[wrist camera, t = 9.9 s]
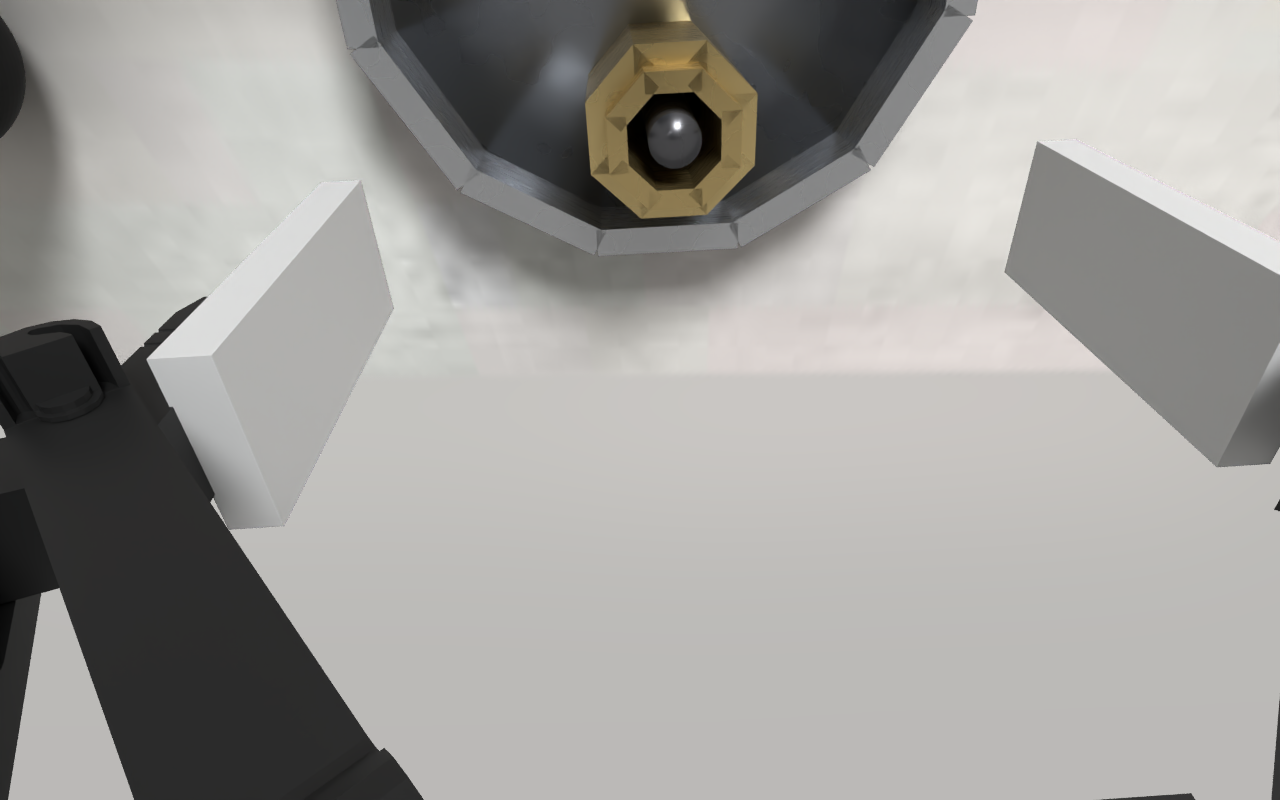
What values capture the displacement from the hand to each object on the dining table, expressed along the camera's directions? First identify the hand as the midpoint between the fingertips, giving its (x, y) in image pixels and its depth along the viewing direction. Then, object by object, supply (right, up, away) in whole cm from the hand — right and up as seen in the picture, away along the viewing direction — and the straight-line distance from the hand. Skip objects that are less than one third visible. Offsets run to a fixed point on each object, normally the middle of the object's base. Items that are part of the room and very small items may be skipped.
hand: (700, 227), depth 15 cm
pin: (0, +8, +13) cm, 16 cm away
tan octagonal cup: (0, +7, +12) cm, 14 cm away
